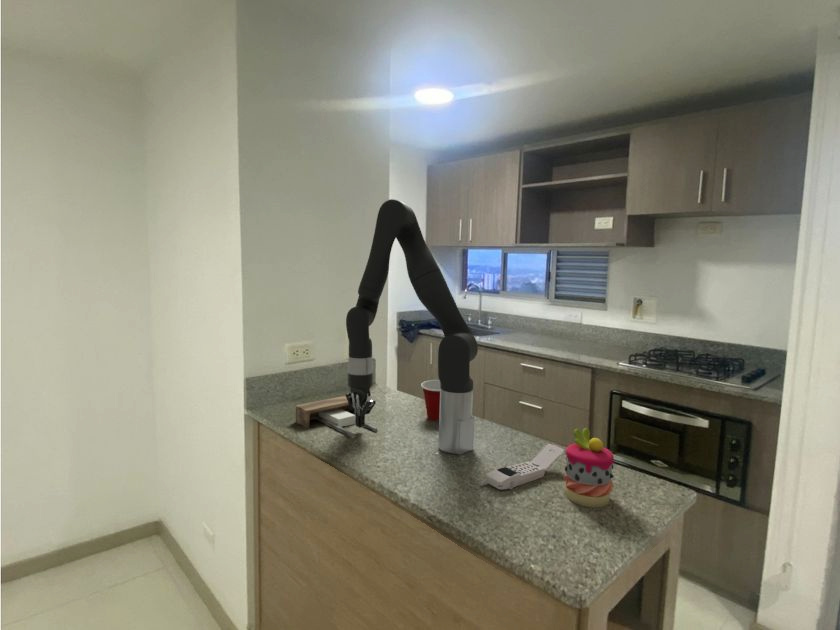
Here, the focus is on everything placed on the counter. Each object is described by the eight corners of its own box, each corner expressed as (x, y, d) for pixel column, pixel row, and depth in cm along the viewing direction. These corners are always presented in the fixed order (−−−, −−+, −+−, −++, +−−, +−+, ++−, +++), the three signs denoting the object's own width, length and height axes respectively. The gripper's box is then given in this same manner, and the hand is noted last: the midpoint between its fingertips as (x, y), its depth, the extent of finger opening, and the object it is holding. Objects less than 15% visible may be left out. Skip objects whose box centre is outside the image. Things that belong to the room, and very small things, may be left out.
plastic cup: (415, 420, 157) (416, 385, 156) (425, 411, 167) (426, 378, 166) (446, 425, 153) (448, 389, 152) (455, 415, 164) (456, 381, 162)
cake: (619, 497, 108) (624, 434, 106) (597, 513, 101) (602, 445, 99) (576, 481, 116) (580, 422, 114) (554, 495, 108) (557, 432, 107)
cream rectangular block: (355, 424, 152) (355, 415, 152) (338, 429, 148) (338, 419, 148) (334, 415, 161) (334, 406, 161) (318, 419, 157) (318, 409, 156)
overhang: (393, 426, 150) (393, 410, 150) (334, 443, 136) (334, 424, 135) (352, 409, 167) (352, 394, 167) (295, 421, 152) (295, 405, 152)
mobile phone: (566, 449, 121) (495, 470, 107) (565, 471, 122) (494, 496, 107) (548, 442, 126) (478, 461, 112) (547, 463, 127) (477, 485, 112)
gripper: (383, 373, 141) (383, 429, 142) (357, 365, 150) (357, 418, 152) (363, 376, 135) (362, 435, 137) (337, 369, 145) (337, 423, 147)
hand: (360, 426), depth 145 cm, fingers closed
